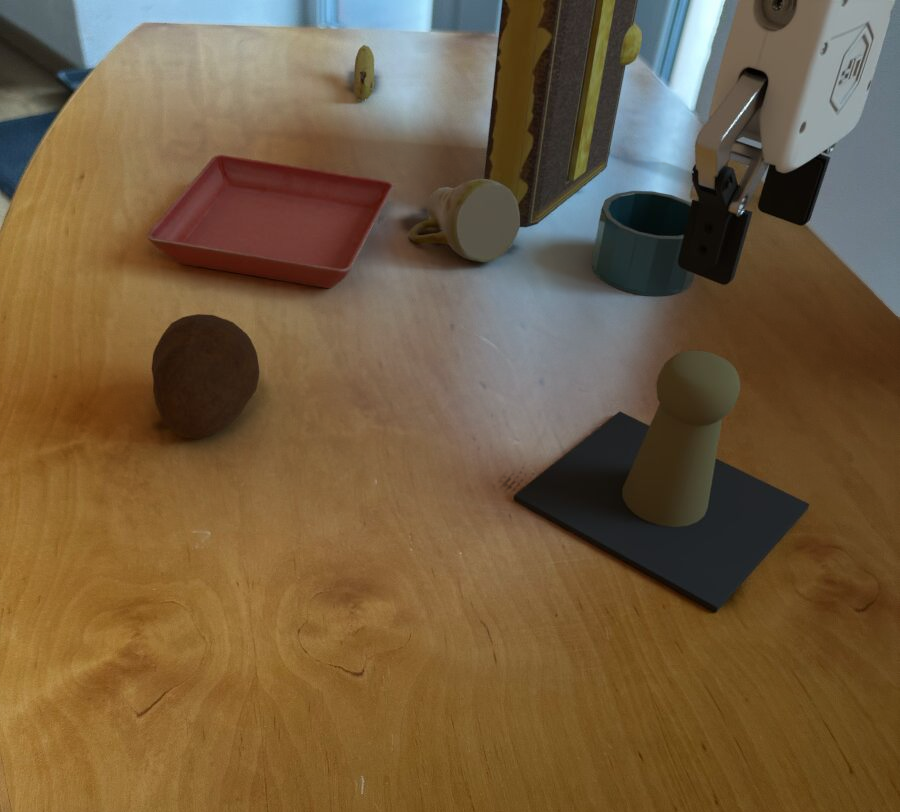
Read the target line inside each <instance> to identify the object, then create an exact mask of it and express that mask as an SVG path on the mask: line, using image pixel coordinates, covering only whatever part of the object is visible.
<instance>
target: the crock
mask: <svg viewBox="0 0 900 812" xmlns="http://www.w3.org/2000/svg"><path fill="white" fill-rule="evenodd" d="M691 203H692V201H689V200H686V199H683V198H681V197H678V196H676V195H673V194H667V193H663V192H657V191H653V190H630V191H629V190H628V191H623V192H618V193H614V194H613V195H610V196H609V197H607V198H606V199H605V200H604V201H603V204H602V207H601V209H600V215H599V221H598V226H597V231H596V232H597V233H596V236H595V242H594V246H593V252H592V258H591V266H592V270H593V271H594V274H596V276H597V277H598V278H600V279H601V280H602V281H603V282H604V283H606V284H608V285H610V286H612V287H614V288H616V289H618V290H621V291H623V292H626V293H631V294H635V295H639V296H647V297H649V296H650V297H664V296H671V295H676V294H679V293H681V292H684V291H685V290H687V289H688V288H690V287H691V285H692V284H693V282H694V279H695V276H696V274H694V273H692V272H689V271H687V270H684V269H682V268H681V267H680V266H679V264H678V258H679V253H680V249H681V245H682V241H683V236H684V232H685V228H686V224H687V220H688V215H689V211H690V207H691Z"/></svg>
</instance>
